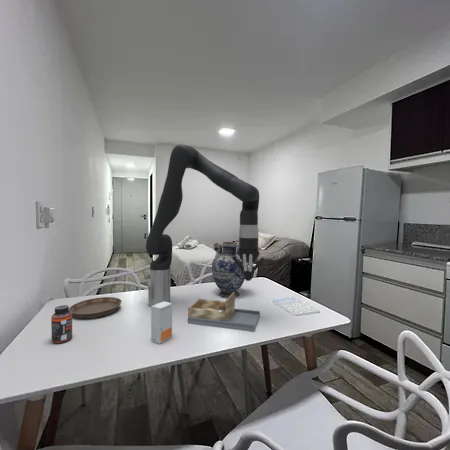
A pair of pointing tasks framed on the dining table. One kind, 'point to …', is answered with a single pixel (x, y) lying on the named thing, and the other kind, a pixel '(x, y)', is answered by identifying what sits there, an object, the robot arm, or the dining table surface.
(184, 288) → the dining table surface
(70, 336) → the supplement bottle
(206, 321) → the rail board
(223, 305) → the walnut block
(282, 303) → the white flat textured slab
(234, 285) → the decorative vase
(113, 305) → the plant saucer
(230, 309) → the wooden drawer
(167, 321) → the skincare box
